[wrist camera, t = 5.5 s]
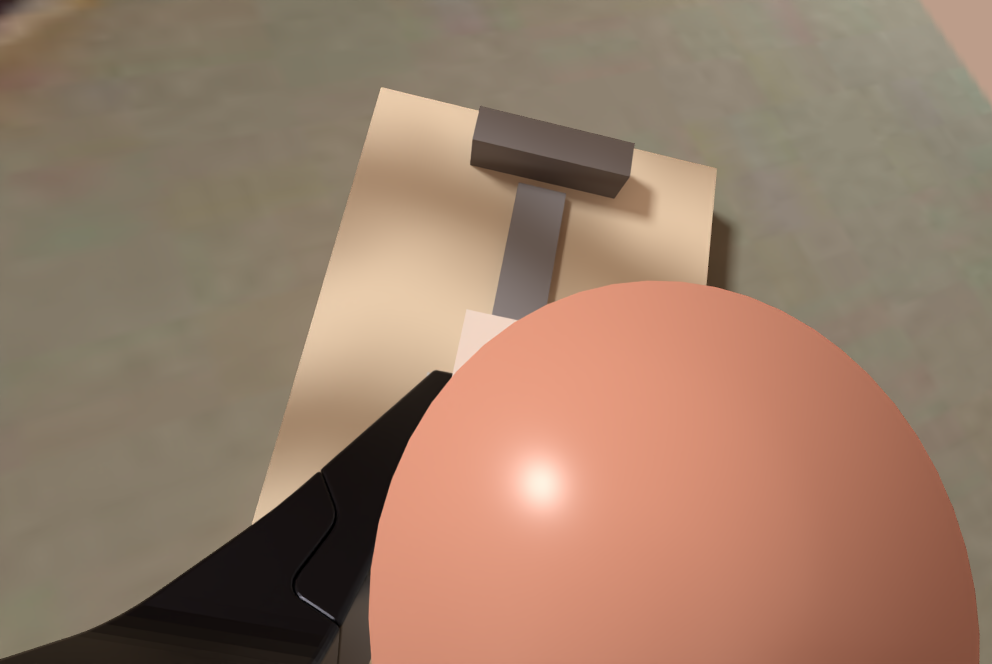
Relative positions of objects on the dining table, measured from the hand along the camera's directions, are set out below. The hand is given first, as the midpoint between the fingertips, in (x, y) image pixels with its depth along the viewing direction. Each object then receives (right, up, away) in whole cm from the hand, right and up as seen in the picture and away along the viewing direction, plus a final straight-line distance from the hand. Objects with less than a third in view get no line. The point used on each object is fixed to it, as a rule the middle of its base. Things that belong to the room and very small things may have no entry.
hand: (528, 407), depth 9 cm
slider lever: (-1, -2, +4) cm, 5 cm away
